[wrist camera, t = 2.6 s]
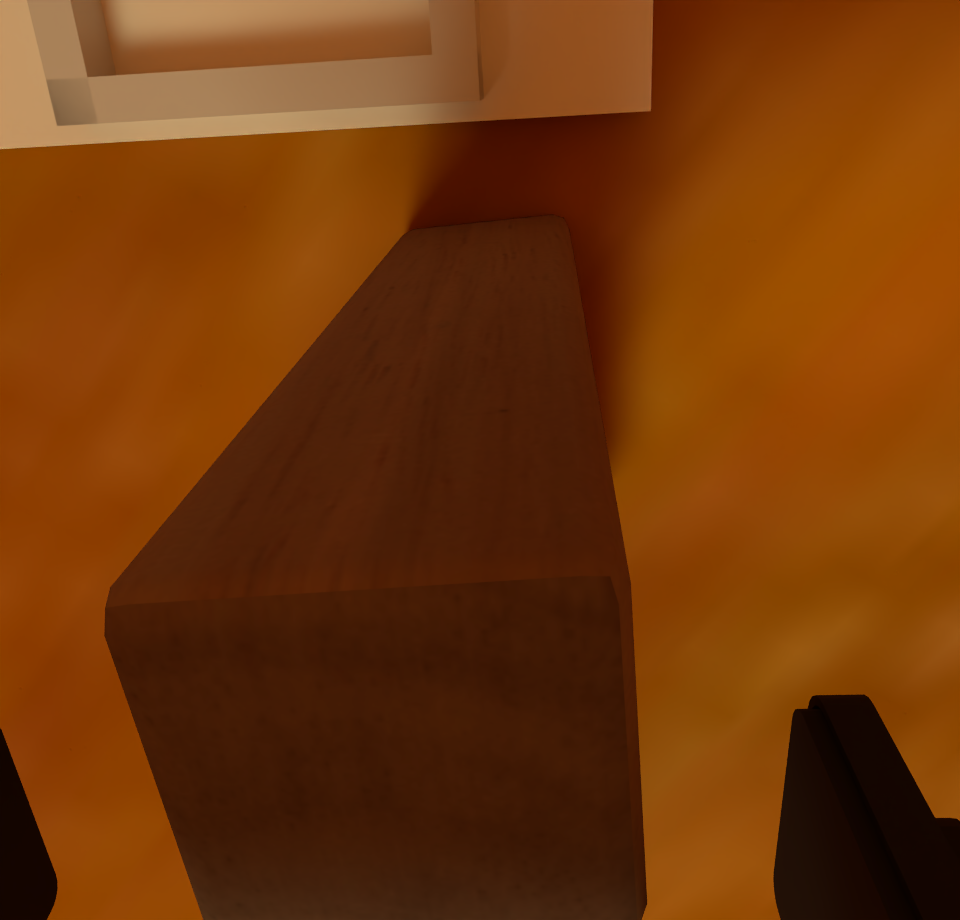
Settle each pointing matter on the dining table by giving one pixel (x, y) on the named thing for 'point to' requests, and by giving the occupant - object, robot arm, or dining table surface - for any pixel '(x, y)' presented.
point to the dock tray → (310, 65)
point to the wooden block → (404, 614)
